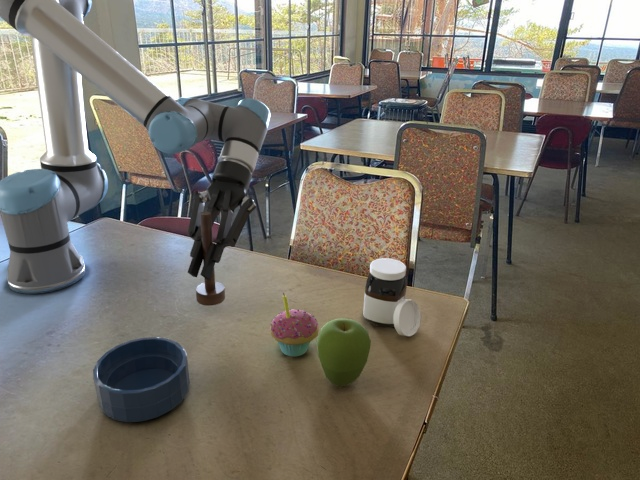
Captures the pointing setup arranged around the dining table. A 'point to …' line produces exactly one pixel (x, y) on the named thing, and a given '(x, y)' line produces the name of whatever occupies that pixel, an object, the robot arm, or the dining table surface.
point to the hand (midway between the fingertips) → (198, 275)
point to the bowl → (141, 379)
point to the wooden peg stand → (210, 289)
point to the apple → (343, 350)
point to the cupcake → (294, 330)
